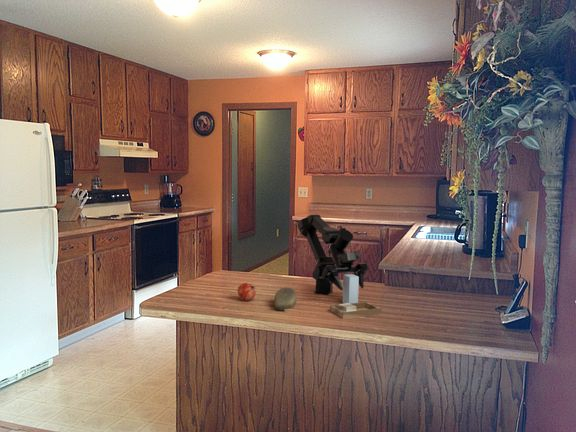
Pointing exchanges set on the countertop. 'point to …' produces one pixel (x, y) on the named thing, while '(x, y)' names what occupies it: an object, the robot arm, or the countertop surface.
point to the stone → (285, 299)
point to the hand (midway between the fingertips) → (352, 288)
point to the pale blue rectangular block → (350, 288)
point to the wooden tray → (357, 310)
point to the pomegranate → (246, 292)
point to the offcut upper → (347, 307)
